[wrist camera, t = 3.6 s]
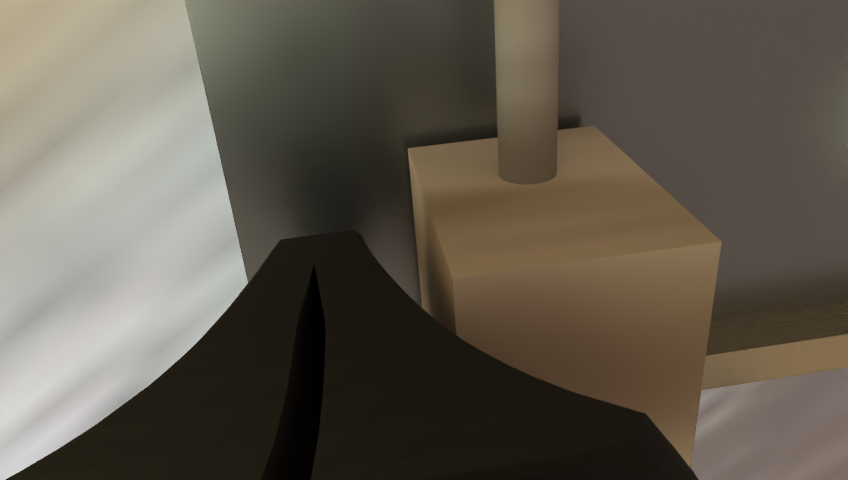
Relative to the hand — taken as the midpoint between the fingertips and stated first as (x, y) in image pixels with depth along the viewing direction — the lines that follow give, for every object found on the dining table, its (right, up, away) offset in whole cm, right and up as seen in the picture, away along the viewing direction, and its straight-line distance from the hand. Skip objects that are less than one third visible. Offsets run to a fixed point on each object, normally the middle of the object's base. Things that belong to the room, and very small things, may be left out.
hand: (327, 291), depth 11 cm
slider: (+3, +4, 0) cm, 4 cm away
